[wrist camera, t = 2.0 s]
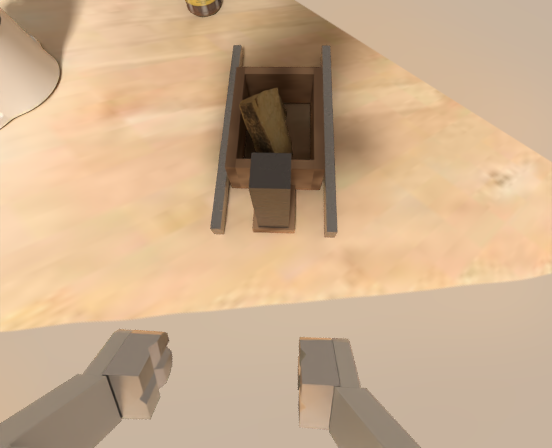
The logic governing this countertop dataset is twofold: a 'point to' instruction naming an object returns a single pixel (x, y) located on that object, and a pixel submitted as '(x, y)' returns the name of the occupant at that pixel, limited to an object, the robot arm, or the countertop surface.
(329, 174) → the rails
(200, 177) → the countertop surface
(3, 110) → the robot arm
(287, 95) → the sled
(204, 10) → the sauce bottle
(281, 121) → the rock
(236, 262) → the countertop surface
